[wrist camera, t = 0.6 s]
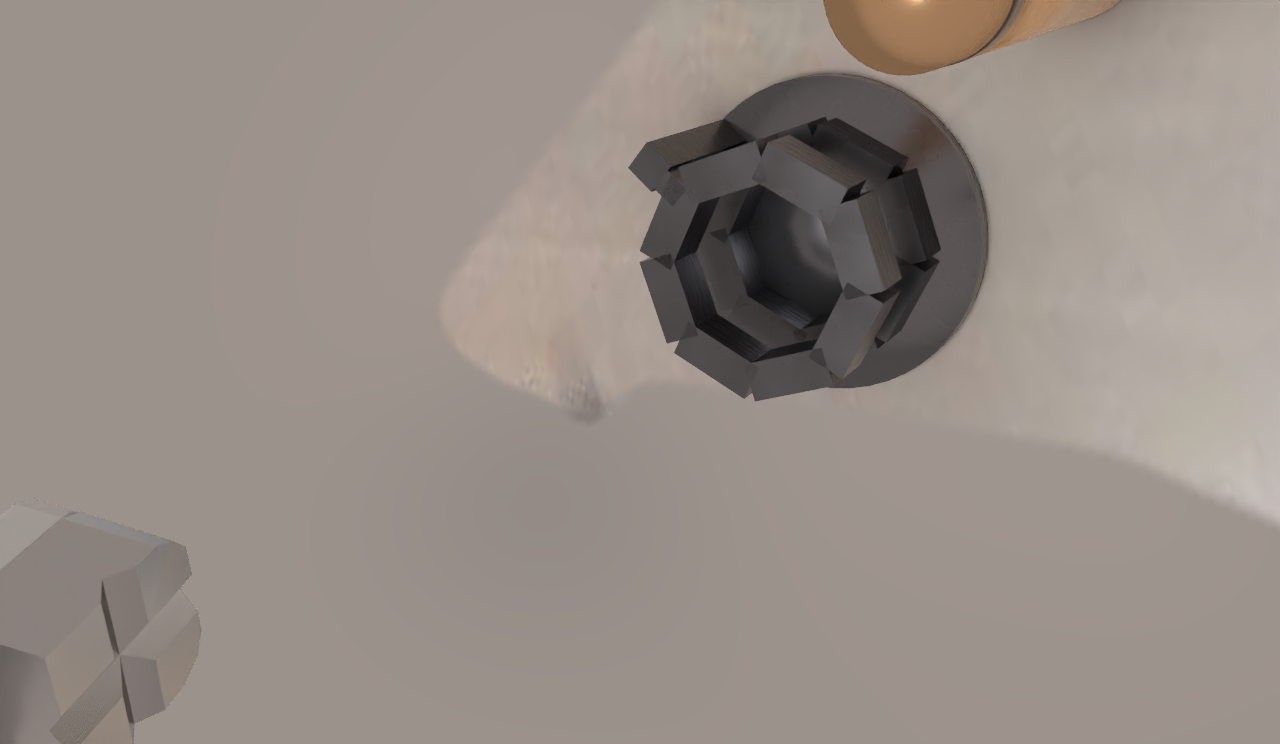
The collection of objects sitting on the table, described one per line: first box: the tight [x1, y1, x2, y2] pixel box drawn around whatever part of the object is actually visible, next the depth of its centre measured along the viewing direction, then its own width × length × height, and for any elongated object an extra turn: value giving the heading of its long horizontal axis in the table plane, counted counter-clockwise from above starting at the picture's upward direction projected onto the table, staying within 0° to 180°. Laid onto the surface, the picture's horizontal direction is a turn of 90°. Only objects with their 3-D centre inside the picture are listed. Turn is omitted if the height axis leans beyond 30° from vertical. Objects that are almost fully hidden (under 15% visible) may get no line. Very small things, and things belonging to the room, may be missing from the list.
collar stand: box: [628, 74, 988, 401], centre depth 51 cm, size 14×14×8 cm
